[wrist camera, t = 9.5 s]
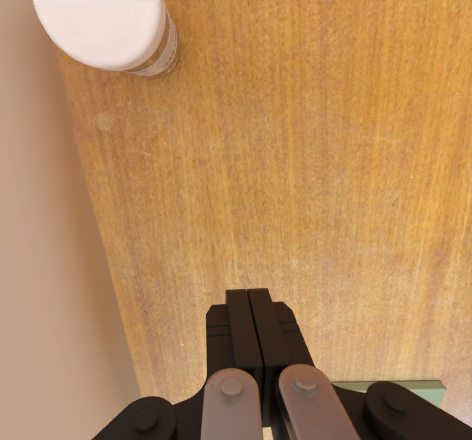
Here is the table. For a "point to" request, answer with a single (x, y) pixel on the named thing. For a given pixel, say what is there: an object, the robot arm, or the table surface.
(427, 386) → the scale
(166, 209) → the table surface
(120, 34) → the sprinkles bottle
